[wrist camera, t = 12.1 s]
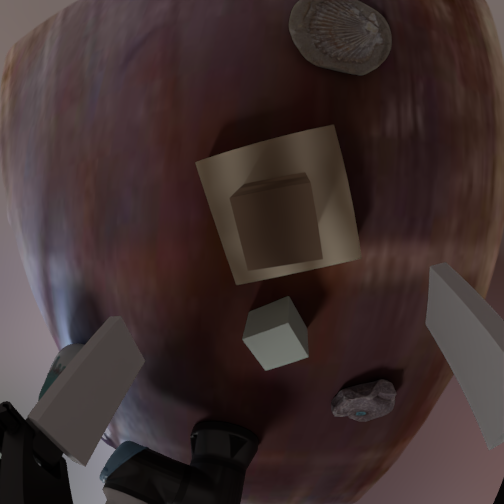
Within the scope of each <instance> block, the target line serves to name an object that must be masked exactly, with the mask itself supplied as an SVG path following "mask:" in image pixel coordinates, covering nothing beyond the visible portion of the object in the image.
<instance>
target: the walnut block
mask: <svg viewBox="0 0 504 504" xmlns="http://www.w3.org/2000/svg"><path fill="white" fill-rule="evenodd" d="M230 202H231V206H232V210H233V214H234V218H235V222H236V226H237V230H238V234H239V238H240V242H241V246H242V250H243V254H244V257H245V261H246V265H247V269H248V271H251V270H258V269H264V268H271V267H277V266H284V265H290V264H296V263H302V262H309V261H315V260H321V259H323V255H322V248H321V241H320V235H319V228H318V222H317V216H316V210H315V204H314V198H313V192H312V187H311V182H310V180H309V178H308V177H307V175H306V173H305V172H303V173H298V174H292V175H287V176H281V177H276V178H271V179H266V180H261V181H256V182H251V183H246V184H244V185H242V186H241V187H240V188H239V189H238V190H237V191H236V192H235V193H234V194H233V195H232V196H231V197H230Z"/></svg>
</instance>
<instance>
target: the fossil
mask: <svg viewBox="0 0 504 504" xmlns="http://www.w3.org/2000/svg"><path fill="white" fill-rule="evenodd" d="M289 31H290V34H291V37H292V40H293V42H294V44H295V45H296V47H297V48H298V49H299V51H300V52H301V54H302V55H303V57H304V58H305V59H306V60H308V61H309V62H311V63H312V64H314V65H316V66H318V67H321V68H326V69H330V70H334V71H339V72H343V73H348V74H353V75H358V76H361V75H365V74H367V73H369V72H371V71H372V70H374V69H376V68H378V67H379V66H380V65H381V64H382V63H383V62H384V61H385V60H386V58H387V57H388V55H389V52H390V50H391V44H392V39H391V32H390V28H389V25H388V23H387V21H386V20H385V18H384V17H383V16H382V15H381V14H380V13H379V12H377V11H376V10H375V9H373V8H371V7H369V6H368V5H366V4H364V3H362V2H360V1H358V0H299V1H298V2H297V3H296V4H295V6H294V7H293V9H292V11H291V15H290V19H289Z"/></svg>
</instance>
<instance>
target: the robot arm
mask: <svg viewBox="0 0 504 504" xmlns="http://www.w3.org/2000/svg"><path fill="white" fill-rule="evenodd" d="M426 326H427V327H428V329H429V331H430V332H431V334H432V336H433V337H434V339H435V341H436V342H437V344H438V346H439V347H440V349H441V351H442V353H443V354H444V356H445V358H446V360H447V362H448V363H449V365H450V367H451V369H452V371H453V373H454V375H455V376H456V378H457V380H458V382H459V384H460V386H461V388H462V390H463V392H464V394H465V396H466V398H467V400H468V402H469V405H470V407H471V409H472V411H473V413H474V416H475V418H476V420H477V422H478V425H479V427H480V429H481V432H482V434H483V437H484V439H485V442H486V444H487V447H488V450H491V449H493V448H494V447H496V446H498V445H500V444H501V443H503V442H504V320H503V319H502V318H501V317H500V316H499V315H498V314H497V313H496V312H495V310H494V309H492V307H491V306H490V305H489V304H488V303H487V302H486V301H485V300H484V299H483V298H482V297H481V296H480V295H479V294H478V293H477V292H476V291H475V290H474V289H473V288H472V287H471V286H470V285H469V284H468V283H467V282H466V281H465V280H464V279H463V278H462V277H461V276H460V275H459V274H458V273H457V272H456V271H455V270H454V269H453V268H451V267H450V266H449V265H448V264H447V263H446V262H445V263H441V264H437V265H433V266H430V277H429V293H428V305H427V315H426ZM144 363H145V360H144V358H143V356H142V354H141V353H140V351H139V349H138V347H137V345H136V344H135V342H134V340H133V338H132V336H131V334H130V332H129V331H128V329H127V327H126V325H125V323H124V321H123V319H122V317H121V316H114V317H109V318H108V319H107V320H106V321H105V322H104V324H103V325H102V326H101V327H100V328H99V329H98V330H97V331H96V333H95V334H94V335H93V336H92V337H91V338H90V339H89V341H88V342H87V343H86V344H85V345H84V346H83V347H82V349H81V350H80V351H79V352H78V353H77V354H76V356H75V357H74V358H73V359H72V360H71V362H70V363H69V364H68V365H67V366H66V368H65V369H64V370H63V371H62V373H61V374H60V375H59V376H58V377H57V379H56V380H55V381H54V382H53V384H52V385H51V386H50V387H49V389H48V390H47V391H46V393H45V394H44V395H43V396H42V398H41V399H40V400H39V402H38V403H37V404H36V406H35V407H34V408H33V409H32V411H31V412H30V414H29V415H28V418H27V419H26V420H25V419H24V418H23V417H22V416H21V415H20V414H19V413H18V411H17V410H16V409H15V408H14V407H13V406H12V404H11V403H10V402H8V401H6V402H3V403H1V404H0V453H1V454H2V456H1V459H0V504H73V501H72V495H71V490H70V484H69V478H68V471H67V465H66V464H67V463H66V460H65V459H64V458H63V457H62V455H63V453H64V454H65V455H67V456H68V457H69V458H70V459H71V460H72V461H74V462H76V463H79V464H81V465H83V466H86V465H87V463H88V461H89V459H90V457H91V455H92V454H93V452H94V450H95V448H96V446H97V444H98V442H99V441H100V439H101V437H102V435H103V433H104V432H105V430H106V428H107V426H108V424H109V423H110V421H111V419H112V417H113V416H114V414H115V412H116V410H117V409H118V407H119V405H120V403H121V402H122V400H123V398H124V396H125V395H126V393H127V391H128V390H129V388H130V386H131V384H132V383H133V381H134V379H135V378H136V376H137V374H138V373H139V371H140V369H141V368H142V366H143V364H144ZM258 443H259V441H258V438H257V437H256V436H255V435H254V434H253V433H252V432H250V431H249V430H247V429H245V428H243V427H240V426H237V425H234V424H230V423H225V422H217V421H208V422H202V423H199V424H197V425H195V426H194V427H193V430H192V433H191V453H192V460H191V463H190V465H187V464H184V463H182V462H179V461H176V460H174V459H171V458H169V457H167V456H164V455H162V454H160V453H158V452H155V451H153V450H151V449H149V448H148V447H144V446H142V445H139V444H137V443H135V442H132V441H125V442H123V443H122V444H121V445H120V446H119V447H118V448H117V449H116V450H115V451H114V453H113V454H112V455H111V457H110V458H109V460H108V461H107V463H106V465H105V467H104V468H103V470H102V472H101V474H100V480H101V481H102V482H103V483H105V485H104V487H103V491H104V494H105V496H106V498H107V501H106V504H240V502H241V497H242V491H243V485H244V479H245V473H246V469H247V468H248V466H249V464H250V463H251V461H252V459H253V458H254V456H255V454H256V452H257V450H258ZM493 504H504V479H503V481H502V484H501V486H500V489H499V492H498V494H497V496H496V498H495V501H494V503H493Z"/></svg>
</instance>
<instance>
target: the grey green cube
mask: <svg viewBox="0 0 504 504" xmlns="http://www.w3.org/2000/svg"><path fill="white" fill-rule="evenodd" d="M242 340H243V341H244V342H245V344H246V345H247V347H248V348H249V349H250V351H251V352H252V353H253V355H254V356H255V357H256V359H257V360H258V361H259V363H260V364H261V365H262V367H263V368H264V369H265V371H266V370H270V369H273V368H276V367H280V366H283V365H286V364H289V363H292V362H295V361H298V360H301V359H304V358H307V357H309V355H308V335H307V327H306V325H305V324H304V322H303V320H302V318H301V317H300V315H299V313H298V311H297V309H296V308H295V306H294V304H293V302H292V301H291V299H290V297H289V296H287V297H284V298H282V299H279V300H277V301H275V302H272V303H270V304H267V305H265V306H262V307H260V308H257V309H255V310H252V311H250V312H249V313H248V318H247V322H246V326H245V330H244V334H243V338H242Z"/></svg>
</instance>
